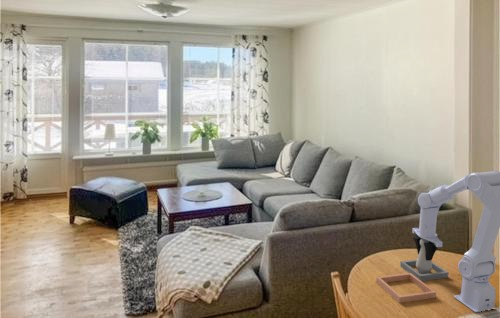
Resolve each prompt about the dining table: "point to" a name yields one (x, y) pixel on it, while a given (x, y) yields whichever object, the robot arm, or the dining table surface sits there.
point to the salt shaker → (423, 260)
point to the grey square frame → (439, 274)
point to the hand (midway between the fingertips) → (424, 257)
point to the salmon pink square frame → (409, 297)
